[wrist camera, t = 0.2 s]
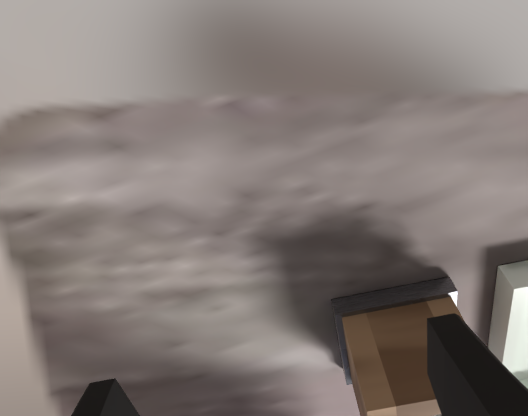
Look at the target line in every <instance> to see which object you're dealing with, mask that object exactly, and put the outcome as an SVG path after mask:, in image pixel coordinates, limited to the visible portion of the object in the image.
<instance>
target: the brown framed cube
mask: <svg viewBox="0 0 528 416" xmlns="http://www.w3.org/2000/svg"><path fill="white" fill-rule="evenodd" d="M452 313H455V314H457V315H459V316H460V317H461V318H462V316H461V314H460V312H459V310H458V308H457V307H456V305H455V303H454V301H453V299H452V297H447V298H442V299H436V300H431V301H426V302H421V303H416V304H410V305H405V306H400V307H395V308H389V309H384V310H379V311H374V312H369V313H363V314H358V315H353V316H348V317H342V322H343V329H344V335H345V342H346V348H347V354H348V361H349V367H350V373H351V380H352V384H353V388H354V392H355V396H356V400H357V404H358V408H359V412H360V416H434V415H439V414H441V411H440V409H439V406H438V403H437V400H436V397H435V394H434V391H433V389H432V386H431V383H430V380H429V377H428V374H427V318H431V317H437V316H442V315H447V314H452ZM462 319H463V318H462ZM463 321H464V320H463ZM441 416H442V415H441Z"/></svg>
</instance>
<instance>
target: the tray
mask: <svg viewBox="0 0 528 416" xmlns="http://www.w3.org/2000/svg"><path fill="white" fill-rule="evenodd" d="M488 349H489V350H490V351H491V352H492V353H493V354H494V355H495V356H496V357H497V358H498V359H499V361H500V362H501V363H502V364H503V365H504V366H505V367H506V368H507V369H508V370H509V371H510V372H511V373H512V374H513V375H514V376H515V377H516V378H517V379H518V380H519V381H520V382H521V383H522V384H523V385H524V386H525V387H526V388H527V389H528V260H526V261H521V262H516V263H511V264H506V265H501V266H498V270H497V278H496V286H495V294H494V302H493V310H492V318H491V326H490V334H489V342H488Z"/></svg>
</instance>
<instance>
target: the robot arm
mask: <svg viewBox="0 0 528 416" xmlns="http://www.w3.org/2000/svg"><path fill="white" fill-rule="evenodd" d="M427 374H428V377H429V380H430V383H431V386H432V389H433V391H434V394H435V397H436V400H437V403H438V406H439V409H440V411H441V414H442V416H528V389H527V388H526V387H525V386H524V385H523V384H522V383H521V382H520V381H519V380H518V379H517V378H516V377H515V376H514V375H513V374H512V373H511V372H510V371H509V370H508V369H507V368H506V367H505V366H504V365H503V364H502V363H501V362H500V361H499V359H498V358H497V357H496V356H495V355H494V354H493V353H492V352H491V351H490V350H489V349H488V348H487V347H486V346H485V345H484V343H483V342H482V341H481V340H480V339H479V338H478V337H477V336H476V335H475V333H474V332H473V331H472V330H471V329H470V328H469V327H468V325H467V324H466V323H465V322H464V321H463V319H462V318H461V317H460V316H459V315H457V314H455V313H452V314H447V315H442V316H437V317H431V318H427ZM71 416H140V415H139V414H138V412H137V411H136V409H135V408H134V406H133V405H132V403H131V402H130V400H129V399H128V397H127V395H126V394H125V392H124V391H123V389H122V388H121V386H120V385H119V383H118V382H117V380H116V379H115V378H114V379H109V380H104V381H99V382H94V383H90V384H89V386H88V387H87V389H86V390H85V392H84V394H83V396H82V397H81V399H80V401H79V403H78V404H77V406H76V408H75V410H74V412H73V413H72V415H71Z"/></svg>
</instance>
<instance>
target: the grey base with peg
mask: <svg viewBox="0 0 528 416" xmlns="http://www.w3.org/2000/svg"><path fill="white" fill-rule="evenodd" d="M457 292H458V291H457V289H456V288H455V286H454V284H453V282H452V280H451V279H450V277H446V278H441V279H436V280H430V281H425V282H420V283H415V284H410V285H405V286H400V287H394V288H389V289H384V290H379V291H374V292H369V293H364V294H358V295H353V296H348V297H343V298H338V299H333V300H331V301H332V307H333V313H334V319H335V325H336V330H337V336H338V342H339V348H340V354H341V360H342V366H343V371H344V375H345V379H346V383H347V385H349V384H352V380H351V373H350V367H349V361H348V354H347V348H346V342H345V335H344V329H343V322H342V317H348V316H353V315H358V314H363V313H369V312H374V311H379V310H384V309H389V308H395V307H400V306H405V305H410V304H416V303H421V302H426V301H431V300H436V299H442V298H447V297H452V299H453V301H454V303H455V305H456V307H457ZM441 415H442V414H439V415H434V416H441Z"/></svg>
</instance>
